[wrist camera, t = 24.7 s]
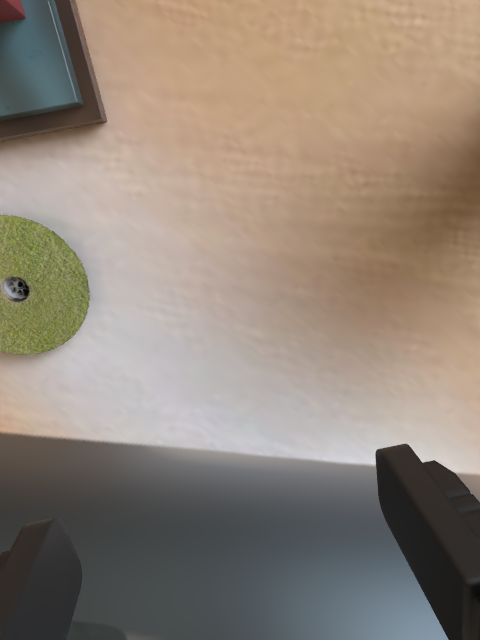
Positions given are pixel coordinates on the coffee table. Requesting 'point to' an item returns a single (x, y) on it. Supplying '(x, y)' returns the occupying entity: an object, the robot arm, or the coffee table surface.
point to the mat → (38, 288)
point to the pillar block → (11, 10)
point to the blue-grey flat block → (46, 72)
